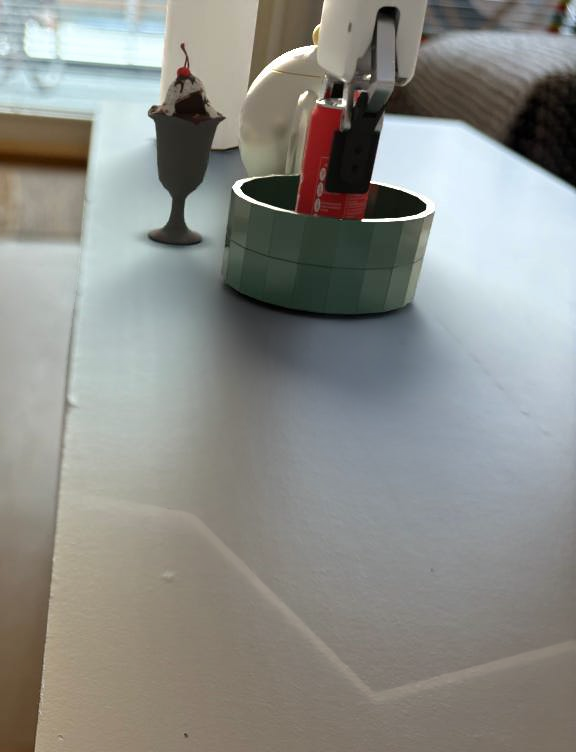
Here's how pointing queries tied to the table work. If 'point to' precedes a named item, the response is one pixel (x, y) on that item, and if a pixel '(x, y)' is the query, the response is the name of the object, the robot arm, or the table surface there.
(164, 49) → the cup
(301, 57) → the teapot
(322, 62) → the robot arm
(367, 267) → the green planter pot
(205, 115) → the sundae
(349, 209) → the beverage can
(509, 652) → the table surface
